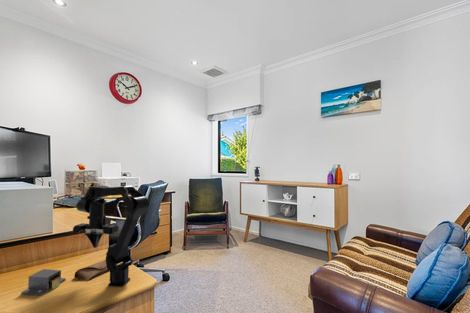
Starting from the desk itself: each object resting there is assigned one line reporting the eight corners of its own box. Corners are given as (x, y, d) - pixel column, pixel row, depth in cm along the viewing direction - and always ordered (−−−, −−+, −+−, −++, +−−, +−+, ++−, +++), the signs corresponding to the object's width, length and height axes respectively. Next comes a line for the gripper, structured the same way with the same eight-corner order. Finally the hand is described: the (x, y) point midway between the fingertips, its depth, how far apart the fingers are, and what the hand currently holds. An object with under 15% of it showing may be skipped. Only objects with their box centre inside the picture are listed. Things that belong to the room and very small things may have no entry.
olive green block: (59, 285, 99) (60, 277, 99) (51, 290, 95) (52, 281, 95) (47, 284, 100) (47, 275, 100) (38, 288, 96) (39, 279, 96)
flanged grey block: (65, 280, 103) (66, 267, 103) (40, 295, 91) (41, 281, 91) (48, 279, 104) (49, 266, 104) (21, 294, 92) (21, 279, 92)
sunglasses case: (86, 282, 102) (82, 267, 103) (77, 287, 104) (72, 272, 106) (121, 265, 118) (117, 253, 120) (112, 270, 120) (108, 258, 122)
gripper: (125, 210, 116) (124, 242, 116) (89, 209, 118) (88, 240, 117) (111, 215, 105) (110, 250, 105) (72, 213, 107) (71, 248, 106)
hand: (95, 247), depth 109 cm, fingers closed
